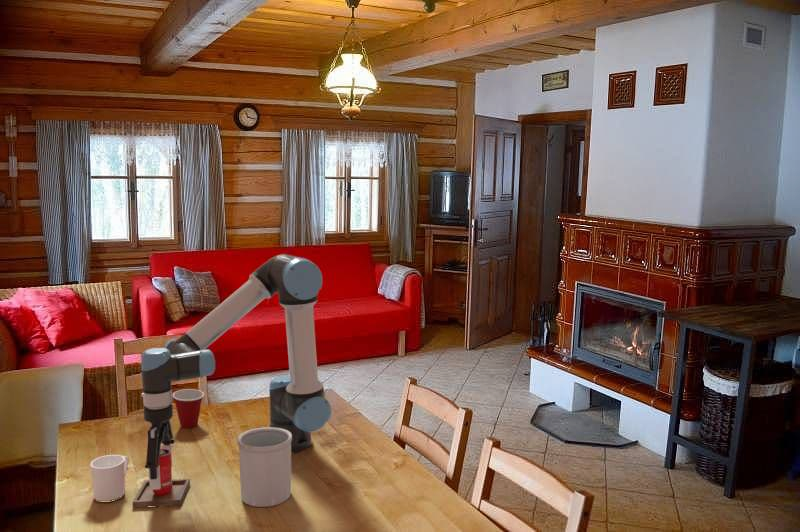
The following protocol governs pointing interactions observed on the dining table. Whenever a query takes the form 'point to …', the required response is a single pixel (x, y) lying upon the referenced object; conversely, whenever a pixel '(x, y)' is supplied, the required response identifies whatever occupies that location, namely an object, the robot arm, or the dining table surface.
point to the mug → (109, 477)
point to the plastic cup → (188, 406)
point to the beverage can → (164, 474)
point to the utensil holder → (265, 466)
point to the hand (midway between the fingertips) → (161, 477)
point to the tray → (173, 499)
